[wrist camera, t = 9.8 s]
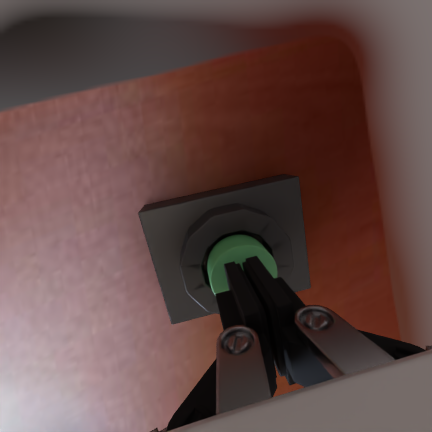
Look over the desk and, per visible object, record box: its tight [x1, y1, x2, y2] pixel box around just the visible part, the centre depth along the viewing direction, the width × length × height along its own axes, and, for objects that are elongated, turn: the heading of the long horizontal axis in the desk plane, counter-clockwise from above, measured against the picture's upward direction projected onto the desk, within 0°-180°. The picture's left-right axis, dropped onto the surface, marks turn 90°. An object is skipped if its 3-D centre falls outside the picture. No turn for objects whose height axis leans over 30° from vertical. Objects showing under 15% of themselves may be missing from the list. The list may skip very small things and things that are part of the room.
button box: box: [138, 174, 311, 324], centre depth 15 cm, size 10×8×4 cm
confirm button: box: [207, 235, 277, 296], centre depth 13 cm, size 4×4×2 cm
